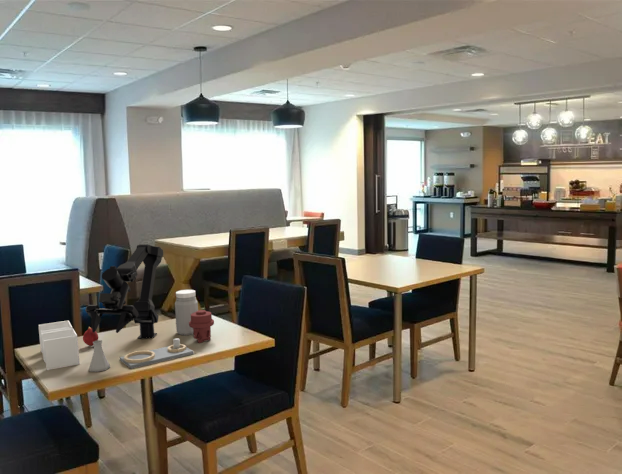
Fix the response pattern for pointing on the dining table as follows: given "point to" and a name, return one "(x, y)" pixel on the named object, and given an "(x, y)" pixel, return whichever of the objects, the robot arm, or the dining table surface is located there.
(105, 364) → the flask
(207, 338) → the mechanical component
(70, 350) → the storage container
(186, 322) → the jar
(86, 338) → the onion
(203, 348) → the dining table surface
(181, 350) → the board
